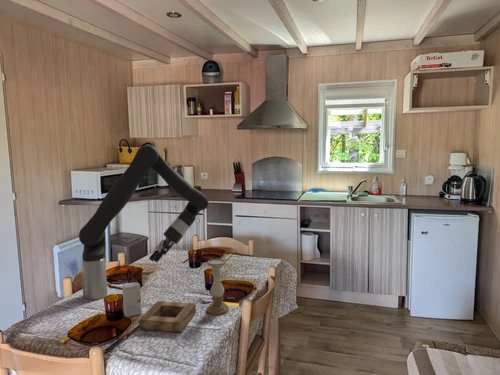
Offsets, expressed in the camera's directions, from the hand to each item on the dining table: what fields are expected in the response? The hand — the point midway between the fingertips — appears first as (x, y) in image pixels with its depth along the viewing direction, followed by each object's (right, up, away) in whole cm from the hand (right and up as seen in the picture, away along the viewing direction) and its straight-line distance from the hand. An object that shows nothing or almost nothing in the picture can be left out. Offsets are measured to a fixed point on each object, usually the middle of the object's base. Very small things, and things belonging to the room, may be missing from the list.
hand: (152, 260), depth 159 cm
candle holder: (+29, -18, -9) cm, 35 cm away
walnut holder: (+11, -19, -18) cm, 29 cm away
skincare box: (-5, -19, -11) cm, 23 cm away
